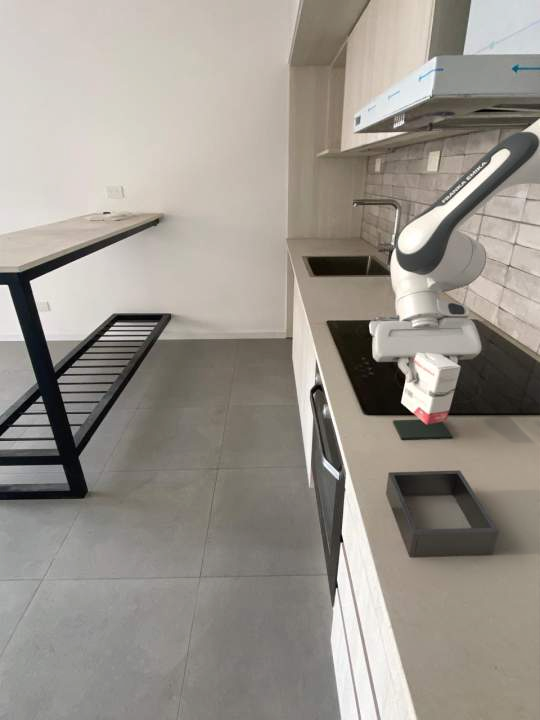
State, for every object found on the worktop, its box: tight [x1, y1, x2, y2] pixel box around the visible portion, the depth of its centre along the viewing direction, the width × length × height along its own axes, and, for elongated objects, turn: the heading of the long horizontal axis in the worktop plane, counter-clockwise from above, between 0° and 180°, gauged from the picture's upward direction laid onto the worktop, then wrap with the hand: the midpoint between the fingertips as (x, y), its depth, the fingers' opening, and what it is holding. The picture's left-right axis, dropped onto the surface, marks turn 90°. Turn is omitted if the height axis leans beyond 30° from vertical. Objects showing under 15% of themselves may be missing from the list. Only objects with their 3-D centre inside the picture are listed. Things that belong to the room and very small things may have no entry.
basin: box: [385, 469, 500, 558], centre depth 58 cm, size 11×12×4 cm
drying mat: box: [392, 419, 454, 441], centre depth 80 cm, size 10×6×1 cm, turn 90°
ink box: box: [400, 353, 462, 425], centre depth 75 cm, size 9×5×12 cm, turn 17°
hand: (431, 381), depth 75 cm, fingers closed on ink box, 6 cm apart
